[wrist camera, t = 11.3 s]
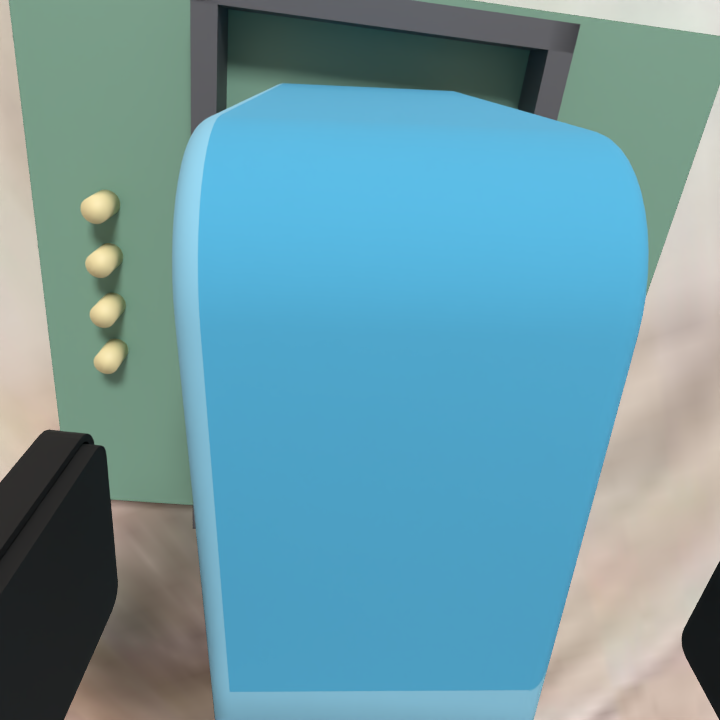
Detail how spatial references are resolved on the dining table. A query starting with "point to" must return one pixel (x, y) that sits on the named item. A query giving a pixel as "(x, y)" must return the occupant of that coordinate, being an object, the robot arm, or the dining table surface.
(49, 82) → the circuit board
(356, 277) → the data package
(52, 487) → the robot arm
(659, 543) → the dining table surface
